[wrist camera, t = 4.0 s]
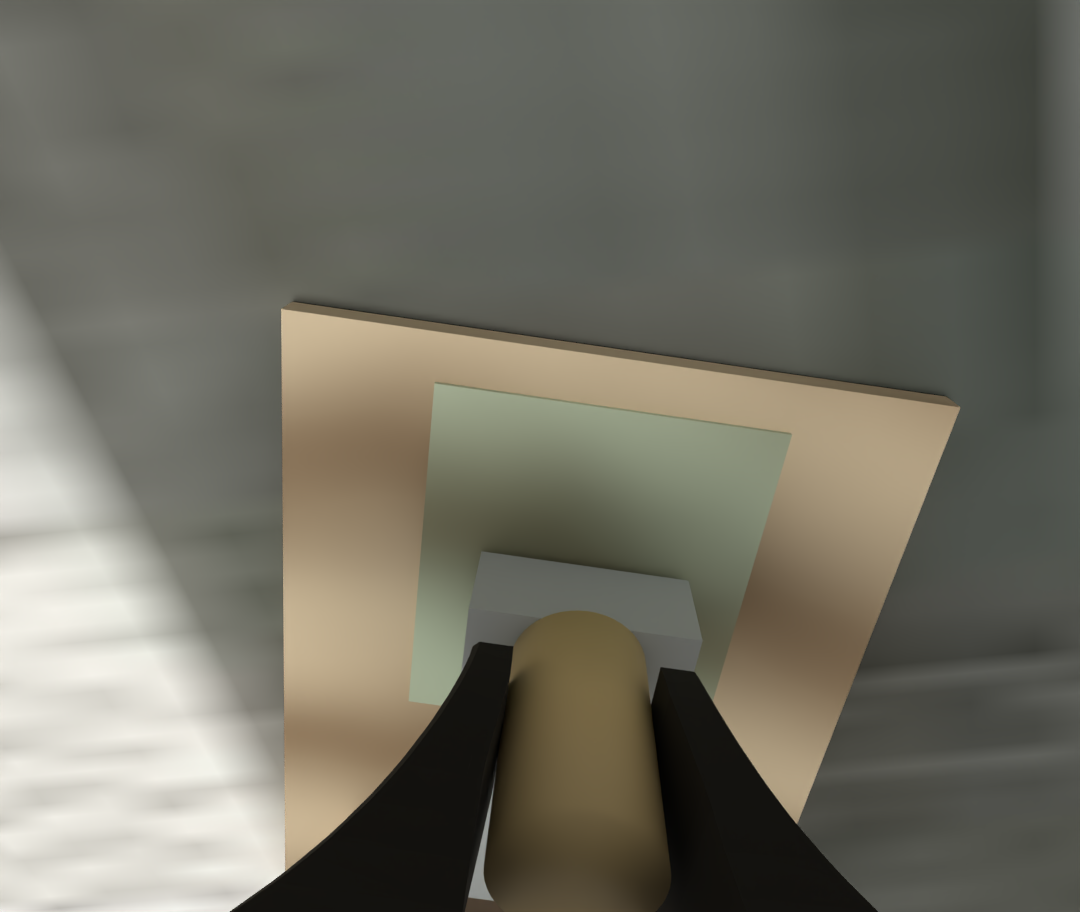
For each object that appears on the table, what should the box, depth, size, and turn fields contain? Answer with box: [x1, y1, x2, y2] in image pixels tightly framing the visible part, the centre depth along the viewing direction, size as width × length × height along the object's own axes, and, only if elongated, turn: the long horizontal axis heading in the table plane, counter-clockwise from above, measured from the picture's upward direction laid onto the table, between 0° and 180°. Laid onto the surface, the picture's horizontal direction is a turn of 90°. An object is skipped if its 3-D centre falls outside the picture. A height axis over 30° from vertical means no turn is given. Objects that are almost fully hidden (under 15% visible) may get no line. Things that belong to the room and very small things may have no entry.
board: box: [281, 302, 960, 912], centre depth 19 cm, size 23×13×1 cm, turn 172°
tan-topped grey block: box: [461, 551, 703, 912], centre depth 15 cm, size 8×4×6 cm, turn 172°
